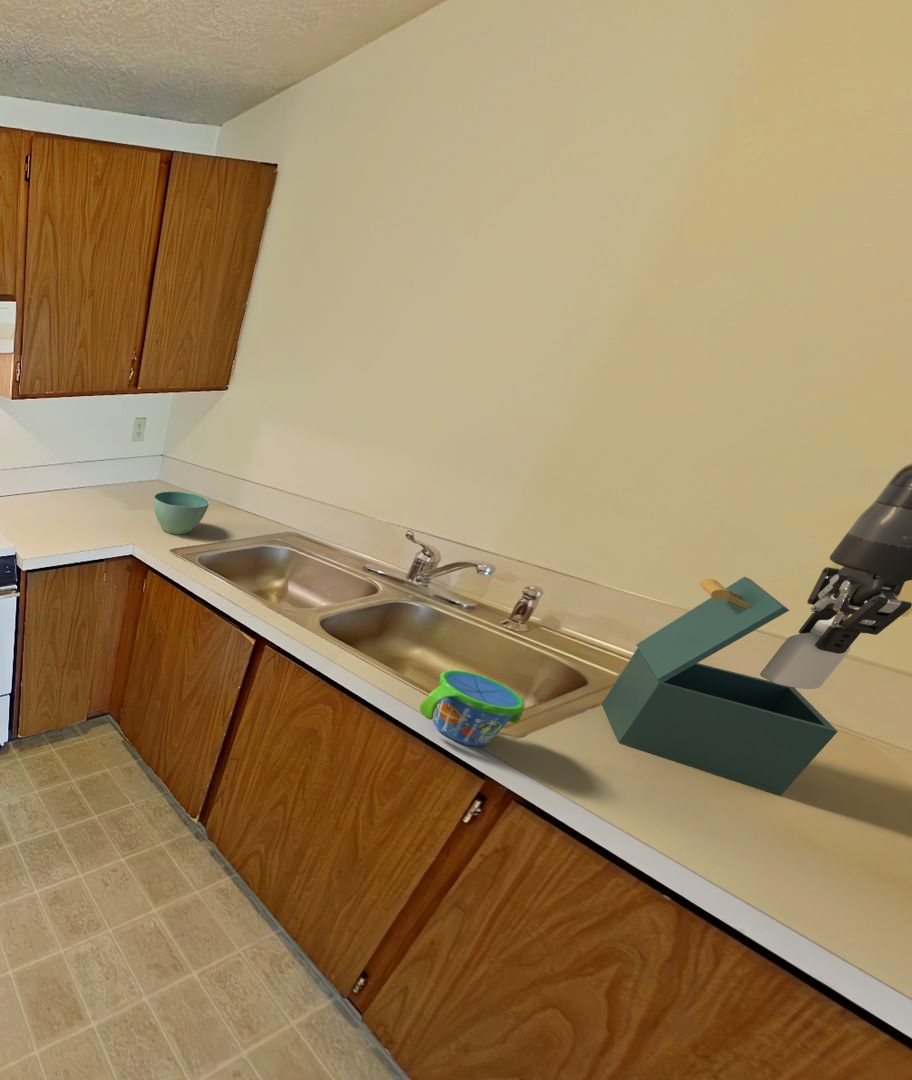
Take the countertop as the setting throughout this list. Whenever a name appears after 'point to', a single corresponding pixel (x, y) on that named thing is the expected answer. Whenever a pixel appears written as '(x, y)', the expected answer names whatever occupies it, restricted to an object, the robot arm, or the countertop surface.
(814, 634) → the eye dropper bottle
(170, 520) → the green bowl
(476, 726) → the snack cup
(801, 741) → the chest
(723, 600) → the lid
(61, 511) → the countertop surface
